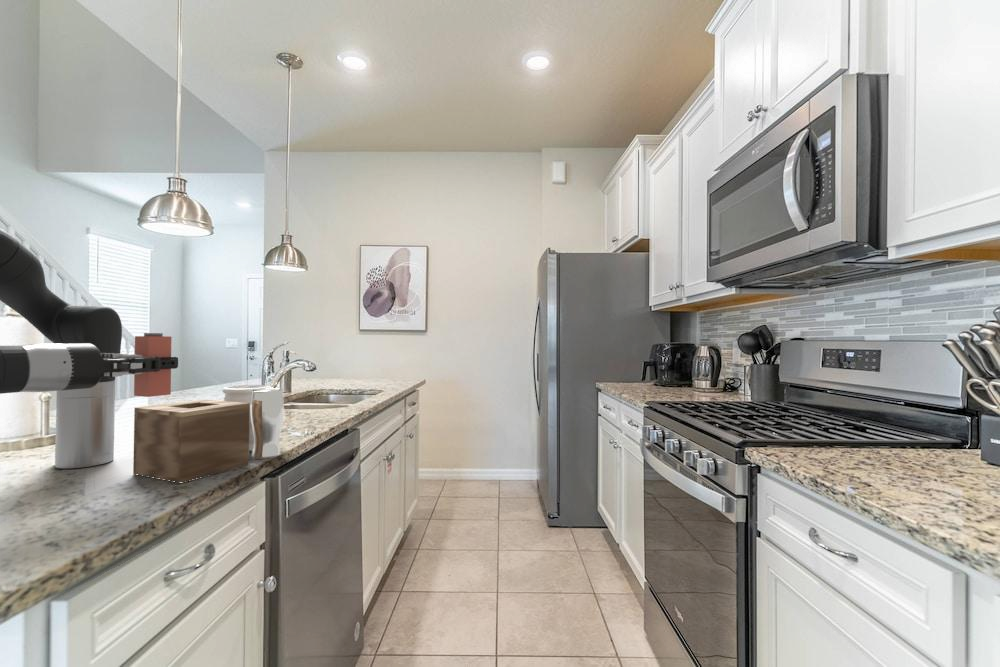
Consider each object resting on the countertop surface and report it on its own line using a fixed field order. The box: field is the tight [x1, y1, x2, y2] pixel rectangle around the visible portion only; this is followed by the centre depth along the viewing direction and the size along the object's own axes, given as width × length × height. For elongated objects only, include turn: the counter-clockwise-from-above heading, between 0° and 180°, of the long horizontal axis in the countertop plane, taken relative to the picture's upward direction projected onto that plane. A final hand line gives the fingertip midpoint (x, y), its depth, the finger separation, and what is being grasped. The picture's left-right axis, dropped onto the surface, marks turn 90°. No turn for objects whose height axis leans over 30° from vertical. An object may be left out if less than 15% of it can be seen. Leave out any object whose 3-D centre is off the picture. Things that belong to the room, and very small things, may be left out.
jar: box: [222, 384, 272, 452], centre depth 112 cm, size 11×10×15 cm
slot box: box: [132, 398, 250, 482], centre depth 94 cm, size 14×14×13 cm
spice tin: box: [133, 332, 172, 398], centre depth 86 cm, size 4×4×12 cm
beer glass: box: [250, 387, 285, 460], centre depth 105 cm, size 7×7×15 cm
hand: (168, 362), depth 89 cm, fingers closed on spice tin, 4 cm apart
